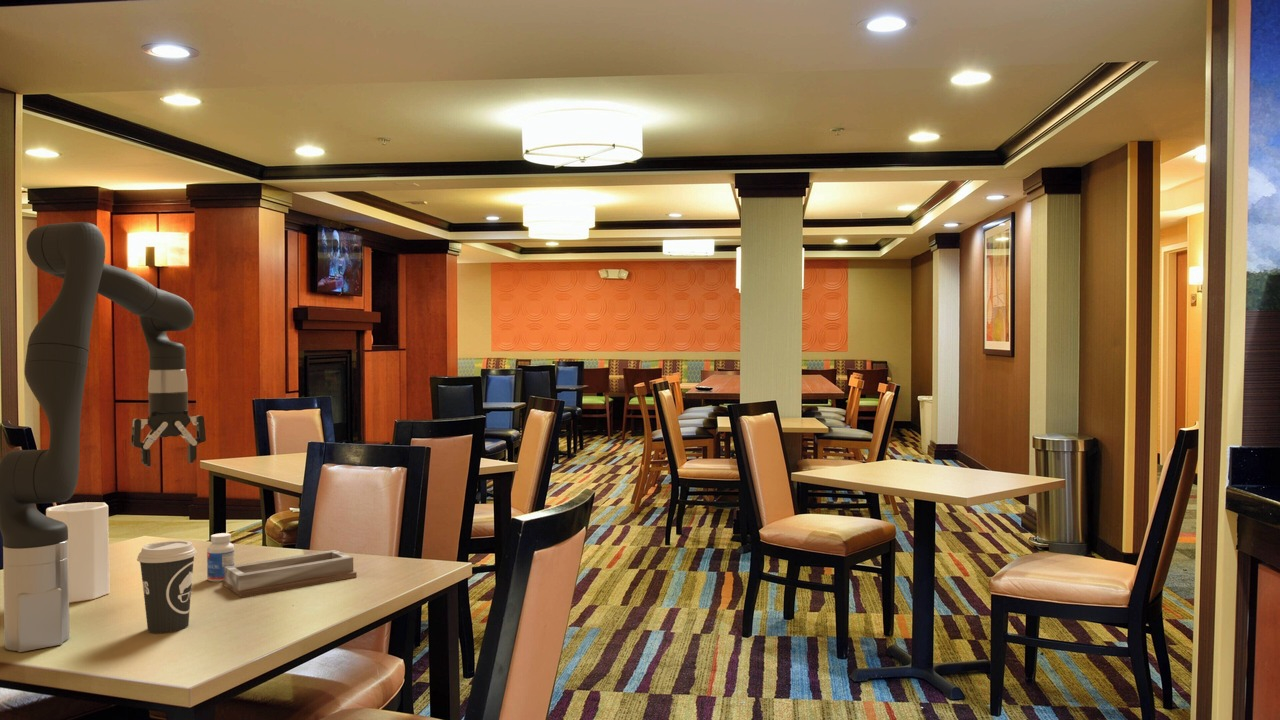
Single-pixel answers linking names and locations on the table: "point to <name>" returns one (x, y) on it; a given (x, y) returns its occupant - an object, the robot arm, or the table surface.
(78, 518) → the cup
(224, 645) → the table surface
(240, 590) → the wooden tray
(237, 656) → the table surface
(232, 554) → the pill bottle
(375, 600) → the table surface
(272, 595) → the table surface
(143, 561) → the coffee cup
